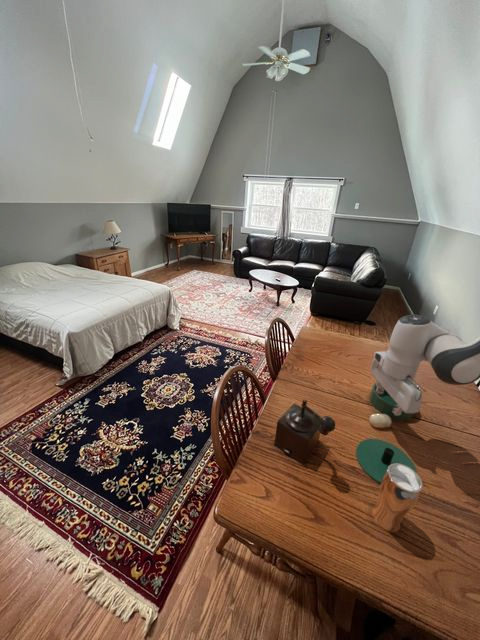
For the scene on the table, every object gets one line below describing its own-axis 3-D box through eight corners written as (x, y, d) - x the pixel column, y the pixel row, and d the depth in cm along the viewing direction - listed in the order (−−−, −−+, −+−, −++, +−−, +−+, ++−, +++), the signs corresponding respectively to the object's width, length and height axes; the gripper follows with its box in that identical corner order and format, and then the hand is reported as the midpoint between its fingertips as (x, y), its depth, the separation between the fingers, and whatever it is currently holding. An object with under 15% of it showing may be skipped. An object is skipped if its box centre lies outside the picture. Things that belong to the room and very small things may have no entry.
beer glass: (364, 516, 63) (381, 474, 57) (377, 497, 68) (394, 456, 61) (394, 543, 59) (416, 500, 52) (407, 521, 63) (428, 479, 57)
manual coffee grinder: (271, 445, 80) (277, 398, 73) (289, 424, 88) (297, 379, 81) (320, 477, 72) (333, 428, 64) (335, 450, 80) (348, 404, 72)
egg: (384, 420, 92) (388, 410, 90) (392, 430, 88) (396, 420, 86) (365, 420, 91) (368, 410, 89) (371, 431, 87) (375, 421, 85)
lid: (394, 440, 84) (398, 428, 82) (429, 489, 70) (436, 477, 68) (346, 441, 83) (350, 429, 81) (372, 492, 69) (377, 479, 67)
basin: (397, 392, 106) (401, 381, 104) (422, 420, 93) (428, 408, 90) (362, 392, 105) (365, 381, 102) (382, 421, 91) (387, 409, 89)
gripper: (434, 389, 71) (418, 428, 76) (389, 349, 89) (379, 382, 95) (412, 389, 70) (397, 428, 76) (371, 349, 89) (362, 383, 94)
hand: (387, 402), depth 85 cm, fingers open, 8 cm apart
